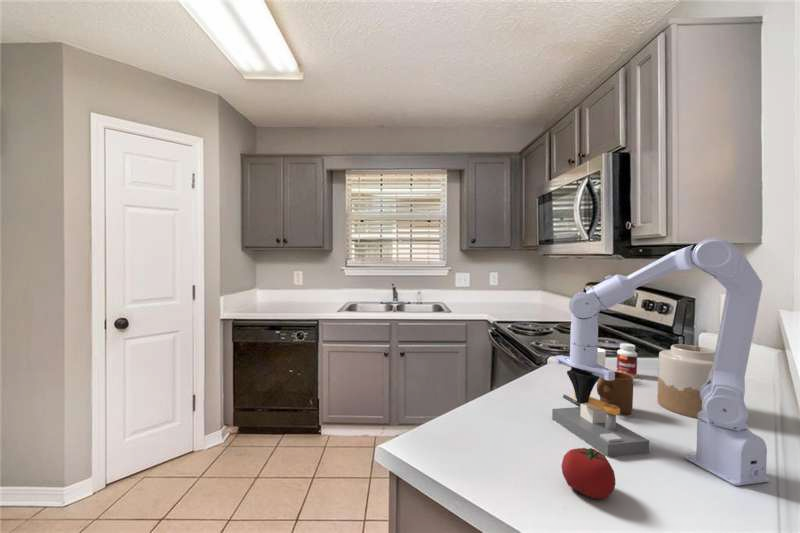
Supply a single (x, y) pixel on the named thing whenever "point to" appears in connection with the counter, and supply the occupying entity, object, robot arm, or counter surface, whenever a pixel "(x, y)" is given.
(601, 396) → the mug
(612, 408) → the clip
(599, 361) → the white cup
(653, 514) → the counter surface
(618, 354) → the pill bottle
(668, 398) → the vase
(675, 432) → the counter surface
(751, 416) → the counter surface
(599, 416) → the plug
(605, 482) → the tomato
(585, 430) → the grey piece
